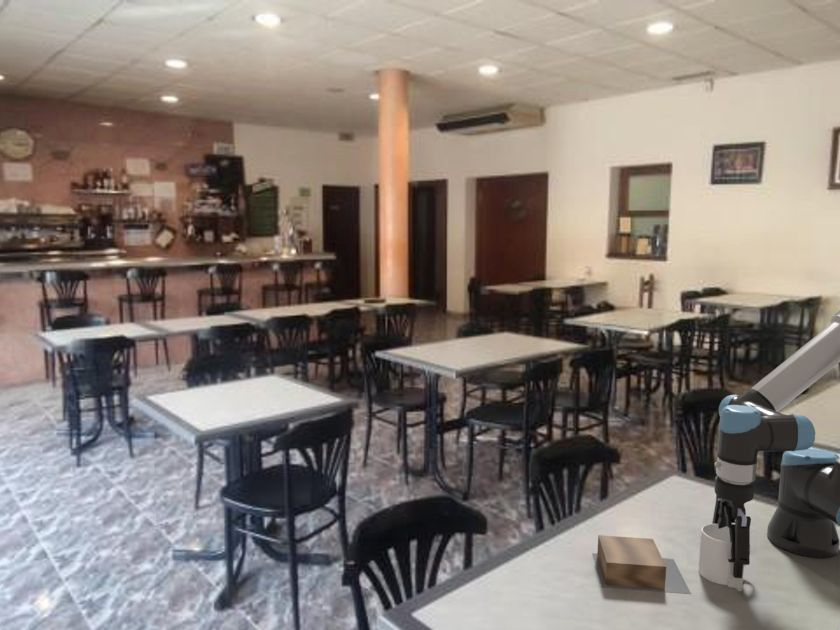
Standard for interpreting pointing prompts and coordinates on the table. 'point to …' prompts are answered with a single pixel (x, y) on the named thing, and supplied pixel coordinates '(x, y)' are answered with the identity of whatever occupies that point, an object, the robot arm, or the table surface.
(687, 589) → the slate tile
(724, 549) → the mug
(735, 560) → the robot arm
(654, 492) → the table surface
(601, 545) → the walnut block
